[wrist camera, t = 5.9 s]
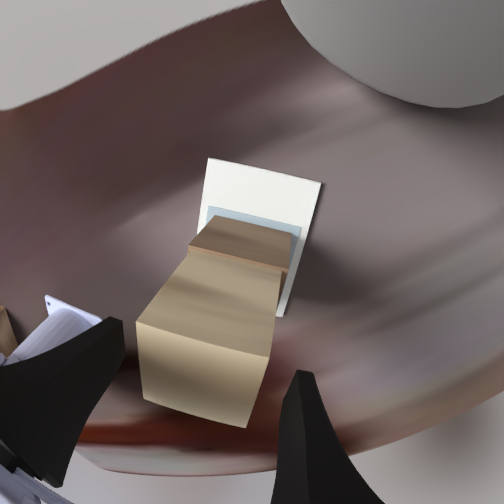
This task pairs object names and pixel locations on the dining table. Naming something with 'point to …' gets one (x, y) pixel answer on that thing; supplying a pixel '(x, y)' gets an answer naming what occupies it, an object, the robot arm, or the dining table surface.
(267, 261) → the walnut block
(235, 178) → the white flat plate
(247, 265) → the maple block
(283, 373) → the dining table surface
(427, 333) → the dining table surface
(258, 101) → the dining table surface
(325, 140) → the dining table surface
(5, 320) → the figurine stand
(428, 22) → the jar
